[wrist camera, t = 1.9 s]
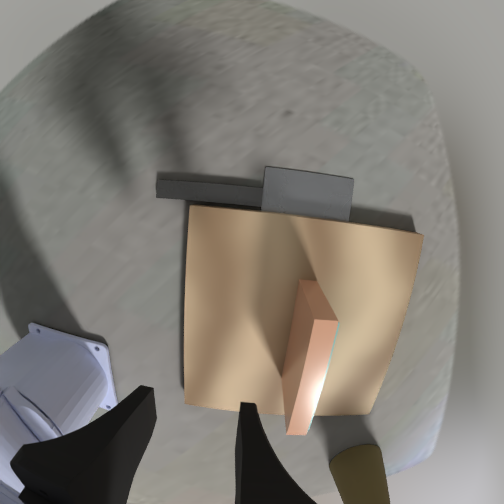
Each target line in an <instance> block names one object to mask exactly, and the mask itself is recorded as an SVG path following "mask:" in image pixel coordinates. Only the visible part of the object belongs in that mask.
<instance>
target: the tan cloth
mask: <svg viewBox="0 0 504 504" xmlns="http://www.w3.org/2000/svg"><path fill="white" fill-rule="evenodd" d="M423 238H424V235H422V234H420V233H417V232H412V231H406V230H399V229H393V228H387V227H380V226H374V225H367V224H360V223H354V222H346V221H339V220H332V219H324V218H317V217H309V216H301V215H293V214H284V213H276V212H267V211H258V210H249V209H240V208H230V207H219V206H209V205H197V204H193V205H190V211H189V224H188V240H187V257H186V279H185V310H184V392H185V404H188V405H194V406H201V407H207V408H214V409H222V410H230V411H240V402H249V403H255V404H256V405H257V410H258V413H262V414H277V415H285V413H284V402H283V391H282V380H281V377H282V372H283V367H284V362H285V357H286V352H287V346H288V341H289V336H290V330H291V324H292V319H293V313H294V307H295V301H296V295H297V289H298V283H299V279H302V280H312V281H317V282H318V284H319V286H320V287H321V289H322V291H323V293H324V295H325V297H326V298H327V300H328V302H329V304H330V306H331V307H332V309H333V311H334V313H335V315H336V317H337V319H338V320H339V323H340V324H339V328H338V332H337V336H336V340H335V344H334V348H333V352H332V356H331V359H330V363H329V367H328V370H327V374H326V377H325V381H324V384H323V387H322V391H321V394H320V397H319V400H318V404H317V407H316V410H315V413H314V416H339V415H363V414H369V413H370V411H371V409H372V406H373V404H374V402H375V399H376V397H377V395H378V392H379V390H380V387H381V385H382V382H383V380H384V377H385V375H386V372H387V369H388V367H389V364H390V361H391V358H392V355H393V353H394V350H395V347H396V344H397V341H398V338H399V334H400V331H401V328H402V325H403V321H404V318H405V315H406V311H407V308H408V304H409V300H410V297H411V293H412V289H413V285H414V281H415V276H416V272H417V268H418V263H419V258H420V253H421V248H422V243H423Z"/></svg>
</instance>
